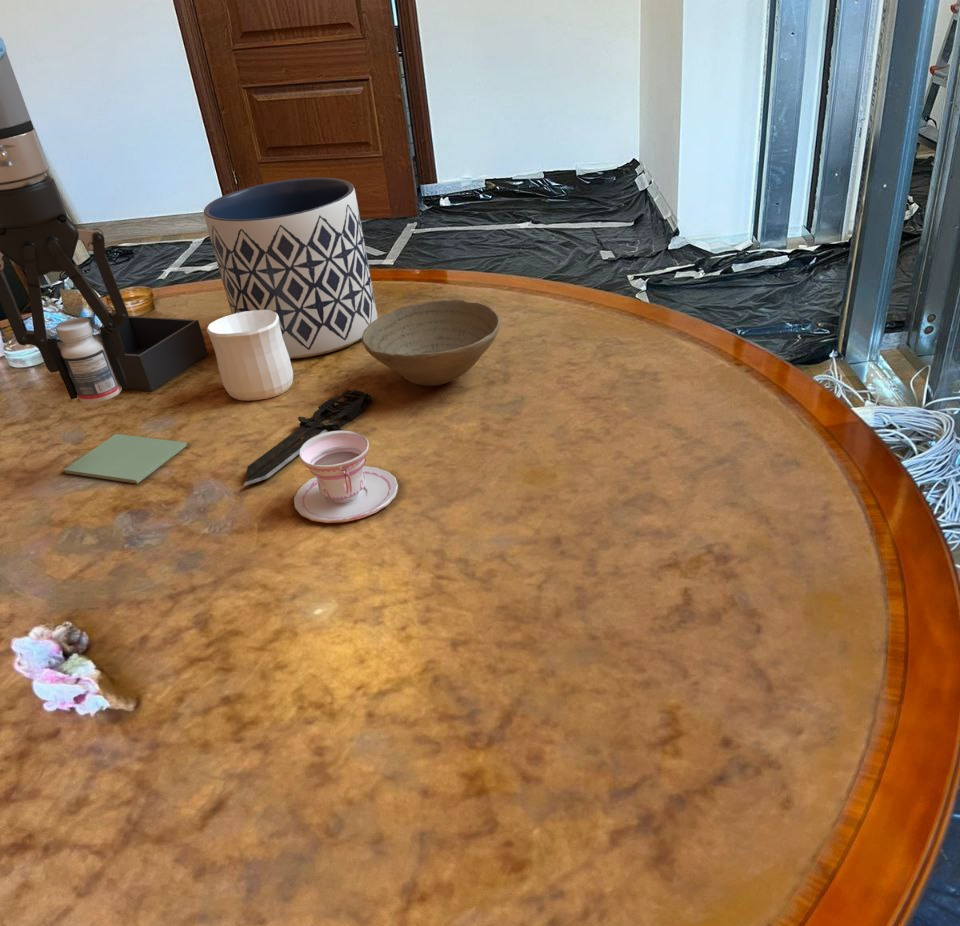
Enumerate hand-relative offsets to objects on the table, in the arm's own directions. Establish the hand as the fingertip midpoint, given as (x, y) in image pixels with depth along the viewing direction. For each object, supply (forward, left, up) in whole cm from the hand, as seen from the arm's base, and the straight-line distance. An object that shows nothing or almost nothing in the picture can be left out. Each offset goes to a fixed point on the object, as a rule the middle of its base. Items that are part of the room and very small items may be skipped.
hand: (98, 388), depth 108 cm
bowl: (+31, +30, -10) cm, 44 cm away
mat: (0, 0, -10) cm, 10 cm away
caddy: (-18, +26, -10) cm, 33 cm away
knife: (+22, +10, -10) cm, 26 cm away
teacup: (+34, -1, -10) cm, 35 cm away
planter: (+2, +43, -10) cm, 44 cm away
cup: (+6, +23, -10) cm, 25 cm away
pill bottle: (0, 0, -1) cm, 1 cm away
